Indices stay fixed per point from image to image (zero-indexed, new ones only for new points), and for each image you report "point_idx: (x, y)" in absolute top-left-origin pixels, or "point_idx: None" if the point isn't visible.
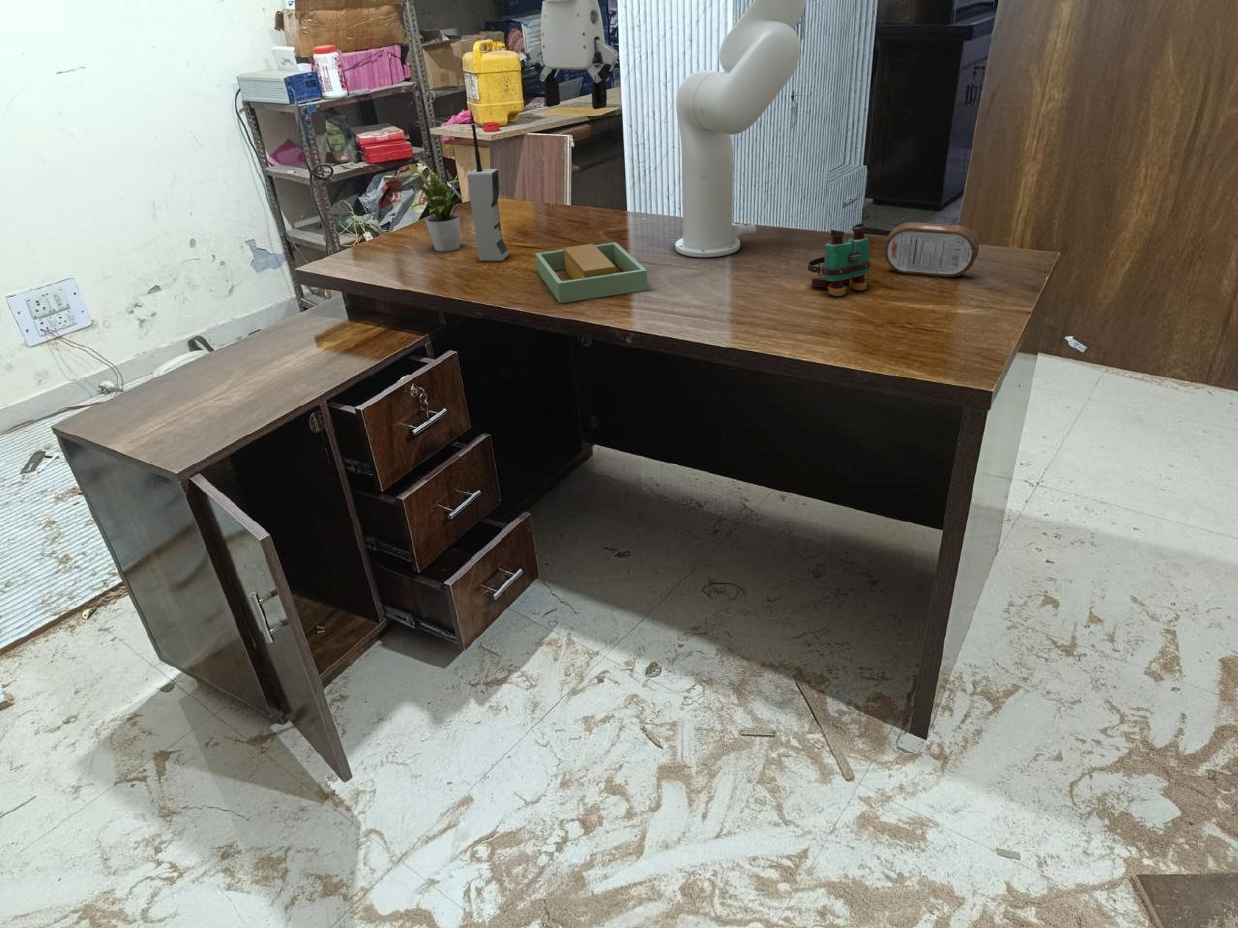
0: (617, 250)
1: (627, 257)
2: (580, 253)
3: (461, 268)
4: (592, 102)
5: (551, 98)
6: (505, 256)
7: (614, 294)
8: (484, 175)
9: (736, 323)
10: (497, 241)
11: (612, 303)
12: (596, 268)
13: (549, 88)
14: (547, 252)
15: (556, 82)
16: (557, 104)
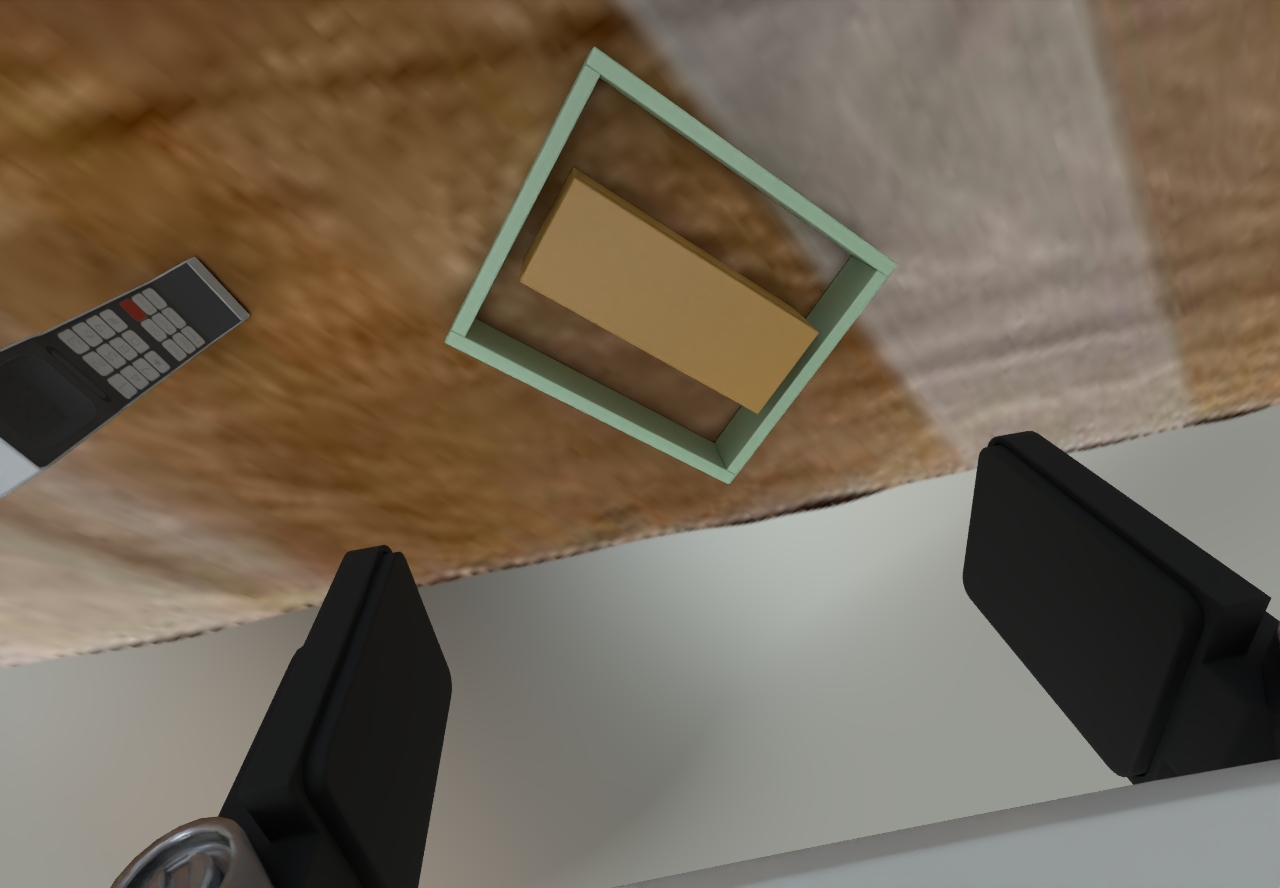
0: (650, 110)
1: (760, 187)
2: (626, 298)
3: (216, 433)
4: (995, 623)
5: (428, 712)
6: (223, 290)
7: None
8: (16, 487)
9: (1180, 310)
10: (190, 330)
11: (836, 382)
12: (778, 380)
13: (418, 833)
14: (469, 311)
15: (346, 786)
16: (414, 585)
